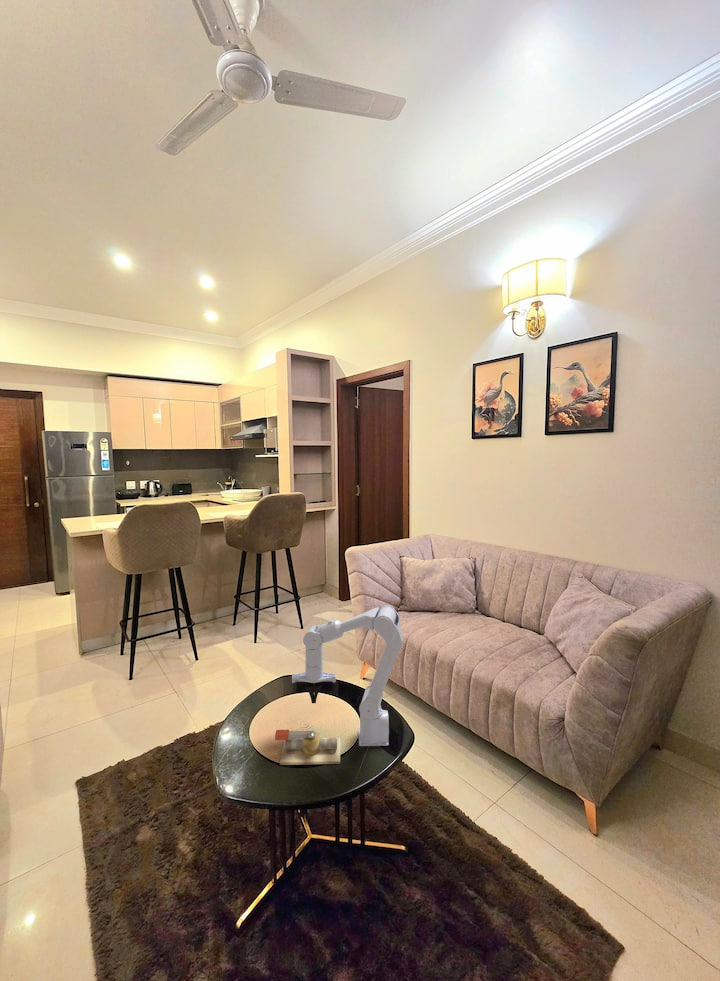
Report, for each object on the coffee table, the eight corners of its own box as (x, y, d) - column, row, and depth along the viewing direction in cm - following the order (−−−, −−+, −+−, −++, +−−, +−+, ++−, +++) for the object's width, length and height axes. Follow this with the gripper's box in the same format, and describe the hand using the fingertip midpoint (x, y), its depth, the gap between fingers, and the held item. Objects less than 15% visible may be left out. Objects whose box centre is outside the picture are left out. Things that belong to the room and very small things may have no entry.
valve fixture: (340, 739, 130) (340, 726, 130) (340, 763, 120) (340, 748, 120) (284, 740, 129) (284, 726, 129) (279, 764, 119) (279, 749, 119)
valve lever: (315, 734, 126) (315, 729, 125) (315, 739, 123) (315, 734, 123) (276, 734, 125) (276, 729, 125) (275, 740, 123) (275, 734, 122)
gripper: (336, 656, 138) (335, 694, 139) (293, 657, 137) (293, 694, 138) (335, 667, 131) (335, 706, 132) (291, 668, 130) (291, 707, 131)
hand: (313, 701), depth 135 cm, fingers closed
